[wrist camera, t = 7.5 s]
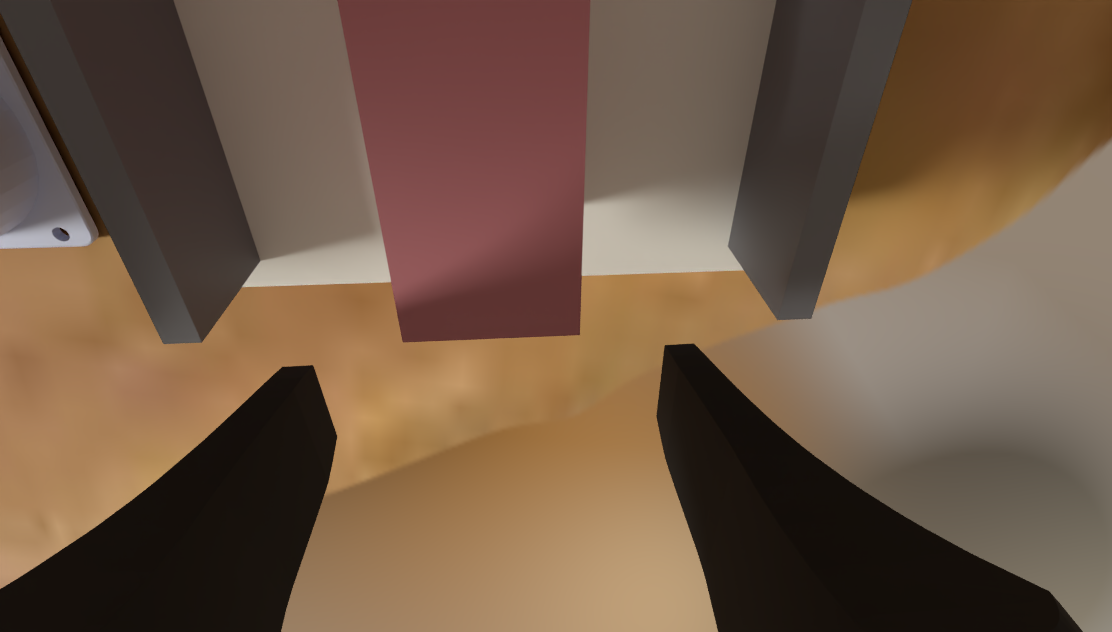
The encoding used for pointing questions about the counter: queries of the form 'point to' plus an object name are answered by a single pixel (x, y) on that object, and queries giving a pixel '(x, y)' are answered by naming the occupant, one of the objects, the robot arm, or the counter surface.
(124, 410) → the counter surface
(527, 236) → the burgundy book
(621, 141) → the grey open rack
